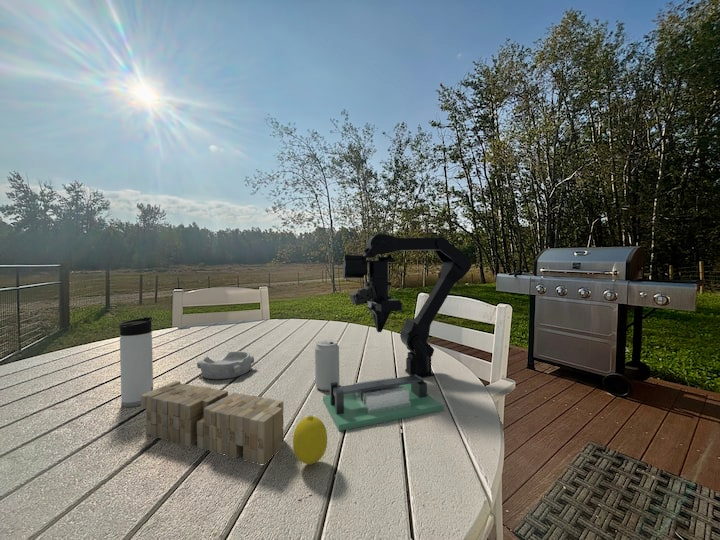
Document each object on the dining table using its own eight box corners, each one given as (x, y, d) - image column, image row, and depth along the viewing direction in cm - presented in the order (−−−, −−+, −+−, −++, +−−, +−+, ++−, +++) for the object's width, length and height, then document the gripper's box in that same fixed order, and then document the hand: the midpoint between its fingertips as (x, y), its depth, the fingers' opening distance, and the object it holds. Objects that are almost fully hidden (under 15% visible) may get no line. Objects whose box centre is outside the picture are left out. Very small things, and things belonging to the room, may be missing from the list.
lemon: (298, 480, 46) (298, 428, 46) (289, 459, 51) (288, 412, 51) (332, 468, 49) (332, 419, 49) (320, 450, 54) (320, 405, 54)
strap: (417, 379, 75) (417, 373, 75) (423, 383, 72) (423, 378, 72) (332, 392, 68) (332, 386, 68) (336, 398, 65) (336, 392, 65)
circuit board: (411, 386, 81) (411, 382, 81) (443, 410, 68) (443, 404, 68) (323, 401, 73) (323, 396, 73) (338, 431, 60) (338, 425, 60)
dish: (190, 377, 90) (190, 361, 90) (227, 363, 103) (227, 348, 103) (228, 384, 84) (228, 366, 84) (262, 368, 97) (261, 353, 97)
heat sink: (412, 385, 79) (412, 368, 79) (434, 401, 69) (433, 381, 69) (327, 399, 71) (327, 379, 71) (339, 419, 62) (339, 397, 62)
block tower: (290, 446, 57) (177, 415, 67) (291, 402, 57) (177, 377, 67) (262, 473, 49) (140, 434, 60) (263, 422, 49) (140, 391, 60)
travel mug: (160, 397, 76) (159, 317, 76) (133, 409, 70) (131, 322, 70) (142, 394, 78) (141, 316, 78) (114, 405, 72) (112, 320, 72)
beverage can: (335, 392, 78) (335, 346, 78) (311, 391, 79) (311, 344, 79) (342, 383, 84) (341, 339, 84) (320, 381, 85) (319, 339, 85)
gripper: (342, 277, 94) (343, 328, 95) (363, 280, 77) (364, 342, 77) (376, 276, 98) (376, 325, 98) (403, 279, 81) (403, 338, 81)
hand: (379, 332), depth 89 cm, fingers closed
